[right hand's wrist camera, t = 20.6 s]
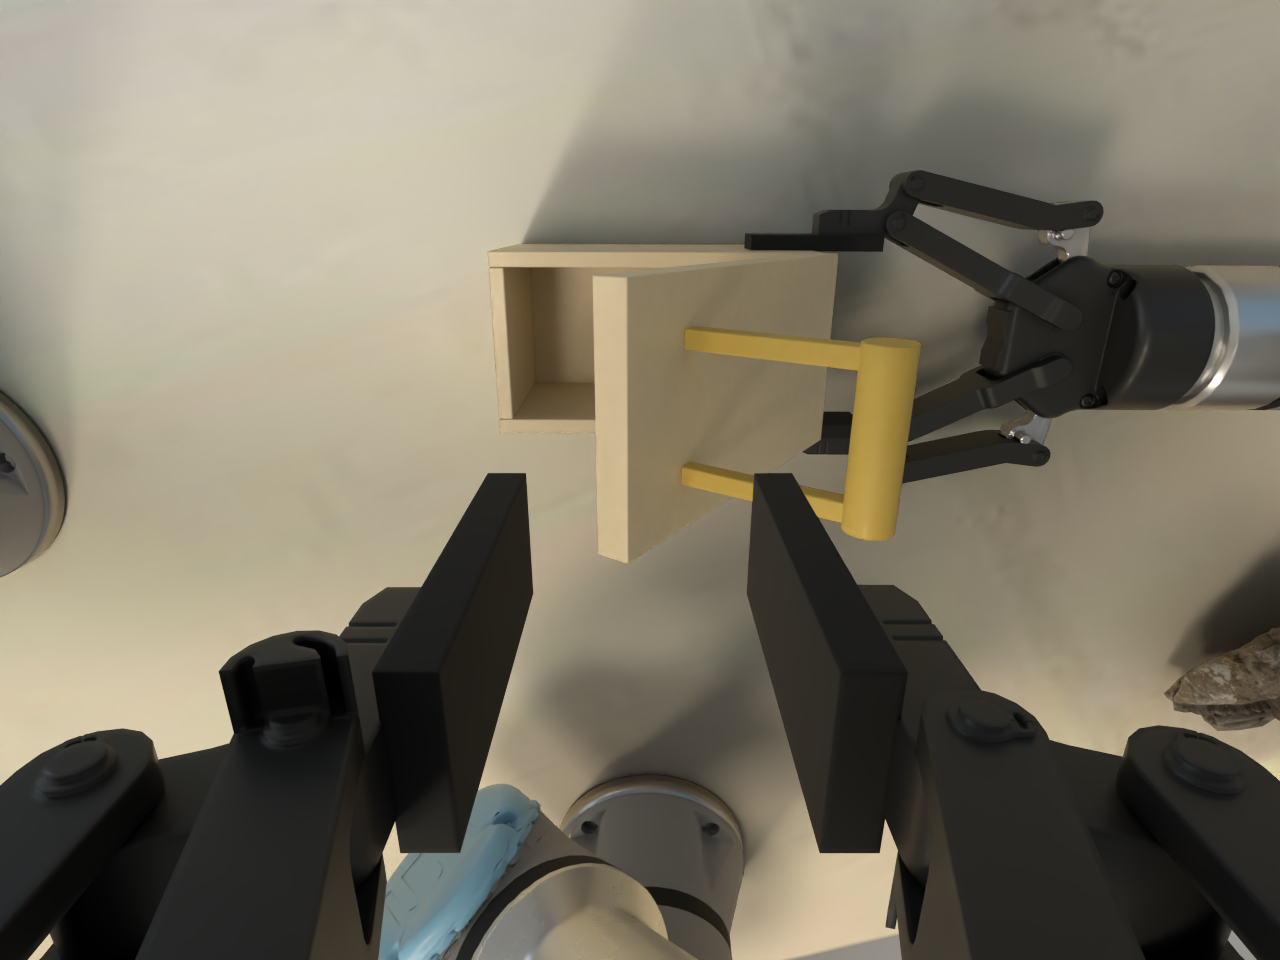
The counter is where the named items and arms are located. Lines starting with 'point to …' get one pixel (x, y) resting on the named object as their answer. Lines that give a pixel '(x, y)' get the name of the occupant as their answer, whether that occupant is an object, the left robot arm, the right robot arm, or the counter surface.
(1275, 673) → the fossil
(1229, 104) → the counter surface
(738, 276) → the lid
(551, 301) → the chest
